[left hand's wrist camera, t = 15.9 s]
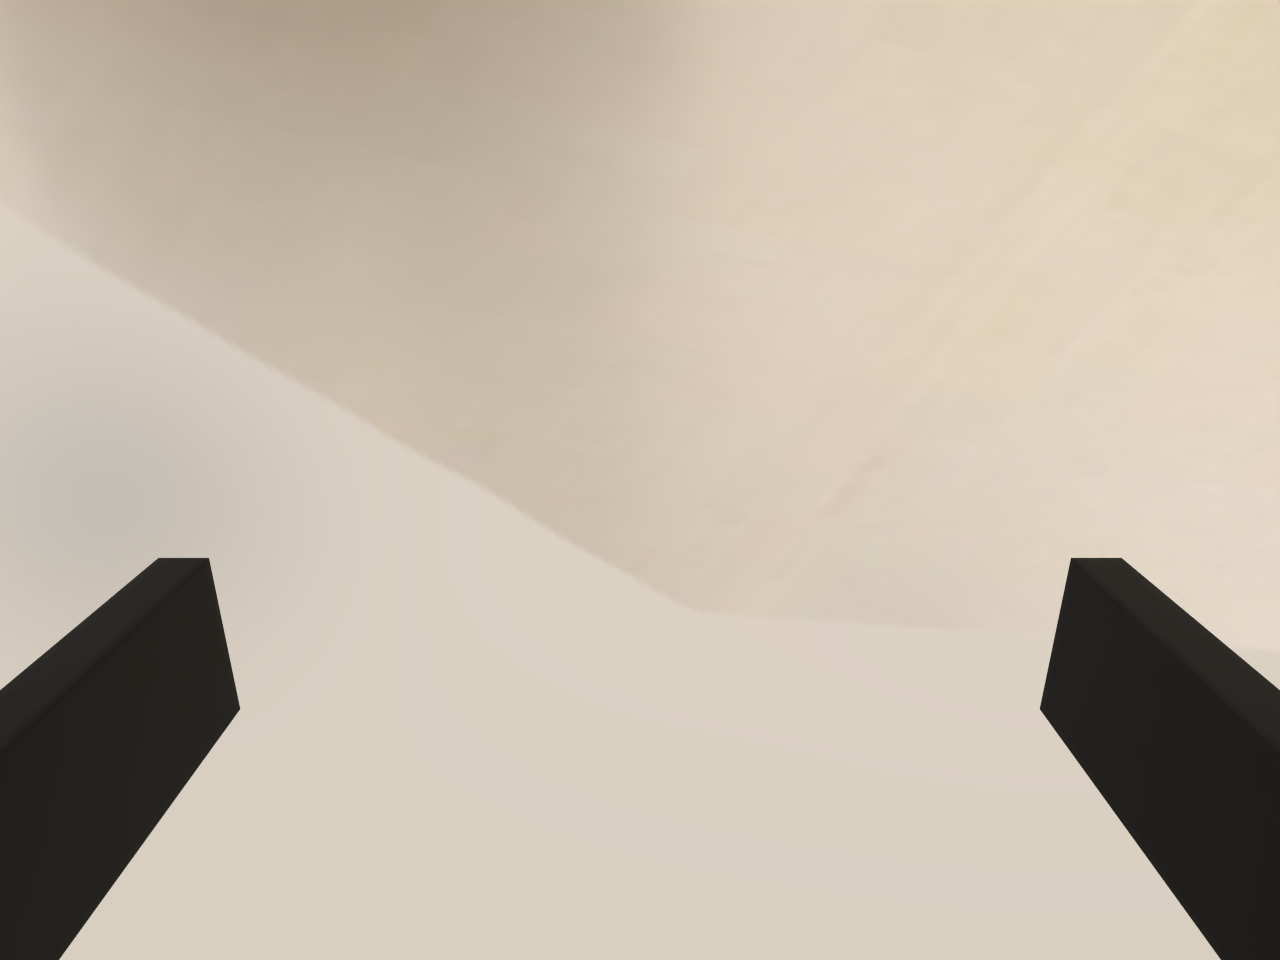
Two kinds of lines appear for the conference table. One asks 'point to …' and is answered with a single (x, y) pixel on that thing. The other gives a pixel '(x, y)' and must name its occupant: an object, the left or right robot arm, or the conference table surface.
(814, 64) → the conference table surface
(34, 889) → the left robot arm
